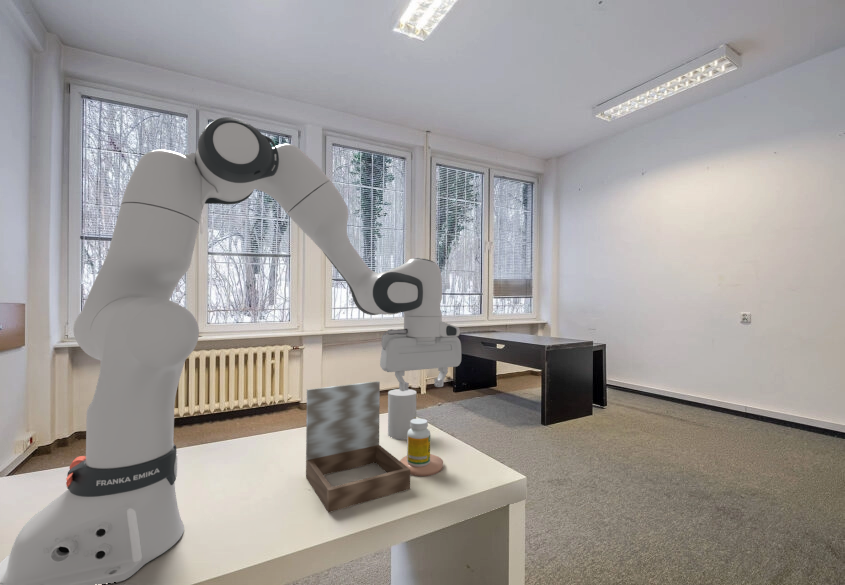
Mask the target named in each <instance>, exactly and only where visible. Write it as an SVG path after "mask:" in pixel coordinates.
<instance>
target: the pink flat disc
mask: <svg viewBox="0 0 845 585" xmlns="http://www.w3.org/2000/svg"><path fill="white" fill-rule="evenodd" d="M399 461H400V462H402V463H403V464H404V465H405V466H407V467H408V468H409V469H410V476H416V477H429V476H430V477H431V476H433V475H436V474H439V473H441V472H442V471H443V469H444V460H443V459H442V458H441V457H440V456H438V455H436V454H432V453H430V463H429V464H428V465H426V466H423V467H414V466H411V465H409V464H408V462H407V455H406V456H404V457H403V456H402V458H401V459H400V460H399Z"/></svg>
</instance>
